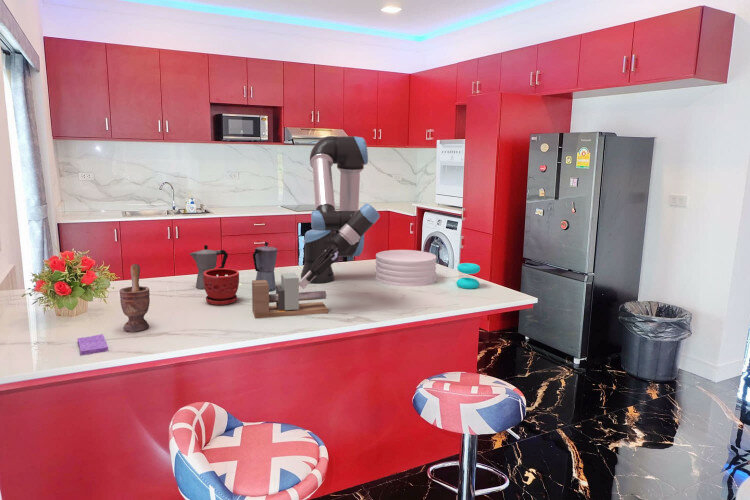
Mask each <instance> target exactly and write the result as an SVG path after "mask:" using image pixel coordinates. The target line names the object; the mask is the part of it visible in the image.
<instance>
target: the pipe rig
mask: <svg viewBox="0 0 750 500" xmlns="http://www.w3.org/2000/svg"><path fill="white" fill-rule="evenodd" d="M251 295H252V296H251V297H252V298H251V299H252V302H251V303H252V308H251V309H252V314H253V316H254V319H265V318H277V317H278V318H279V317H291V316H303V315H304V316H305V315H316V314H317V315H318V314H328V312H329V308H328V307H327V305H326V304H325V303H324V302H323V301H321V302H307V303H306V302H305V303H304V302H303V301H314V300H315V301H316V300H327V292H326V290H317V291H301V292H300V291H299V302H301V301H302V302H303V303H299V309H295V310H279V309H278V307H277V305H276V304H274V305H273V304H272V305H270V304H271V303H276V302H278V293H277V294H276V293H272V294H271V293H270V291H269V284H268V283H267V281H266V280H256V279H255V280H251Z"/></svg>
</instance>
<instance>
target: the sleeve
mask: <svg viewBox="0 0 750 500" xmlns="http://www.w3.org/2000/svg"><path fill="white" fill-rule="evenodd" d="M280 277H281V278H280V280H281V281H280V282H281V283H280V286H282V287H283V289H284V294H285V310H295V309H299V304H300V301H299V292H300V287H299V281H300V280H299V276H298V275H297V274H296V273H295V272H290V273H289V272H287V273H281V275H280Z"/></svg>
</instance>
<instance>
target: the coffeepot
mask: <svg viewBox="0 0 750 500" xmlns="http://www.w3.org/2000/svg"><path fill="white" fill-rule="evenodd" d="M203 248H204V249H201V250H197V251H193V252H190V253H189V256H191V257H192V259H193V260H194V261H195V263H196V264H195V265H196V268H197V269H198V272H197V276H196V277H197V278H196V282H195V288H197V289H199V290H205V288H204V281H203V273H204V272H205V271H207V270H210V269H216V267H217V261H218V256H221V255H223V257H222V261H221V266H218V267H217V268H225V266H226V263H227V259H228V257H229V254H228V252H227V251H226V250H224V249H217V250H213V249H208V248H209V245H207V244H205V245H204V246H203ZM216 276H218V275H216ZM209 284H211V283H209Z"/></svg>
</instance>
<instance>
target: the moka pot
mask: <svg viewBox="0 0 750 500" xmlns="http://www.w3.org/2000/svg"><path fill="white" fill-rule="evenodd" d="M278 249H279V248H276V247H274V246H269V242H267V241H266V242H264V245H263V246H258V247H256V248H254V252H253V253H252V258H253V265H254V269H255V272H256V278H255V280H266V281H267V283H268V284H269V292H271V291H274V290H276V279H275V278H276V277H275V267H276V262H277V257H278V255H277V254H278Z"/></svg>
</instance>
